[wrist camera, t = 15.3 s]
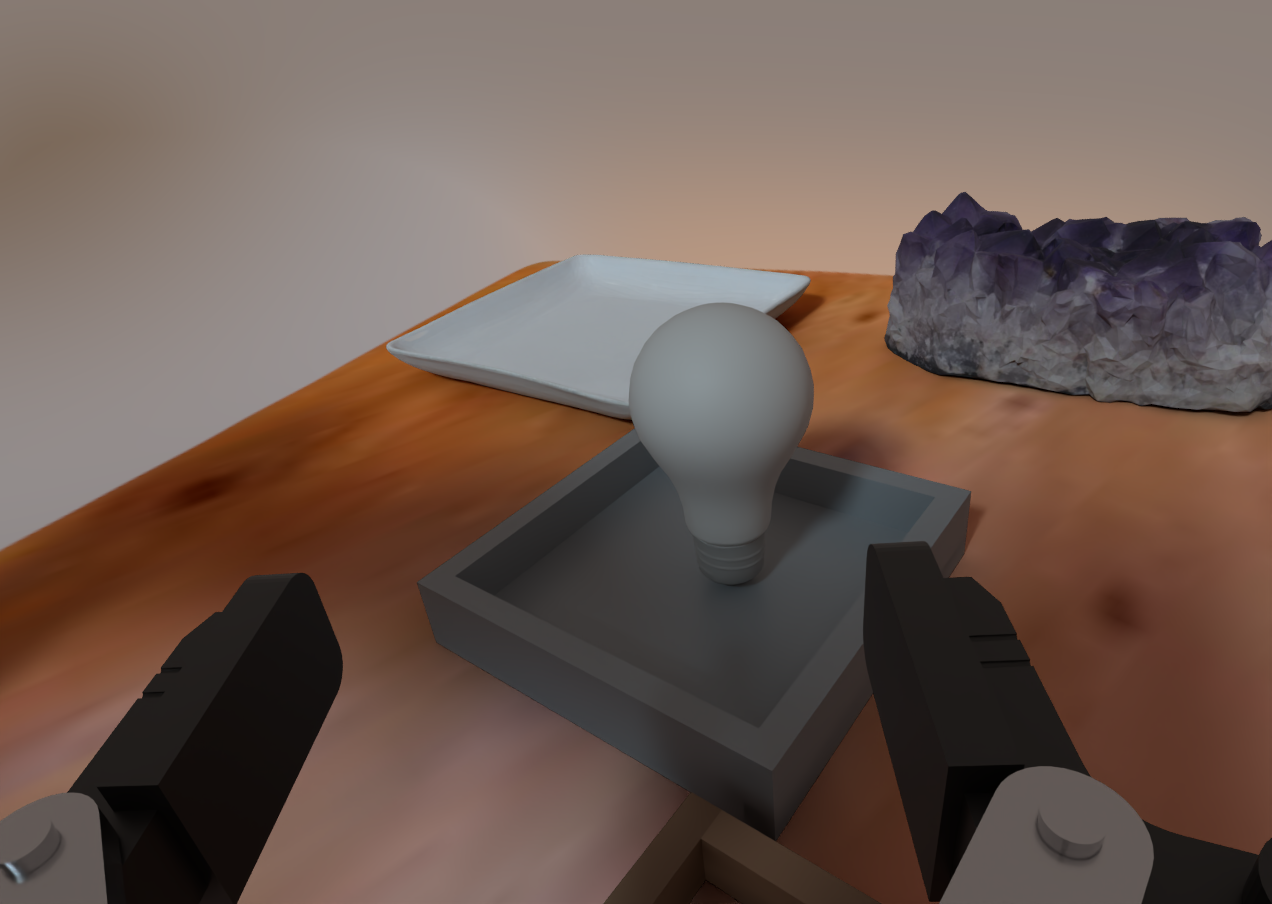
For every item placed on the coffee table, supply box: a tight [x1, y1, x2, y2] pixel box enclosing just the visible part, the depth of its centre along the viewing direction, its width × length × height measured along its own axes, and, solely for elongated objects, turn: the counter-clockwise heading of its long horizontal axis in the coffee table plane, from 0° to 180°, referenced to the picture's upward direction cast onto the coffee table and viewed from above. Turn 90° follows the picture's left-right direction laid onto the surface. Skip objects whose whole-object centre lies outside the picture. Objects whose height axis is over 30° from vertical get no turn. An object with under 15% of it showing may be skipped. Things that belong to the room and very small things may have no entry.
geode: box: [884, 192, 1272, 412], centre depth 43 cm, size 20×12×10 cm, turn 60°
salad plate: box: [386, 255, 811, 420], centre depth 54 cm, size 21×21×3 cm
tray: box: [417, 429, 971, 841], centre depth 31 cm, size 15×15×3 cm
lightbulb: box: [628, 303, 814, 585], centre depth 28 cm, size 6×6×11 cm
